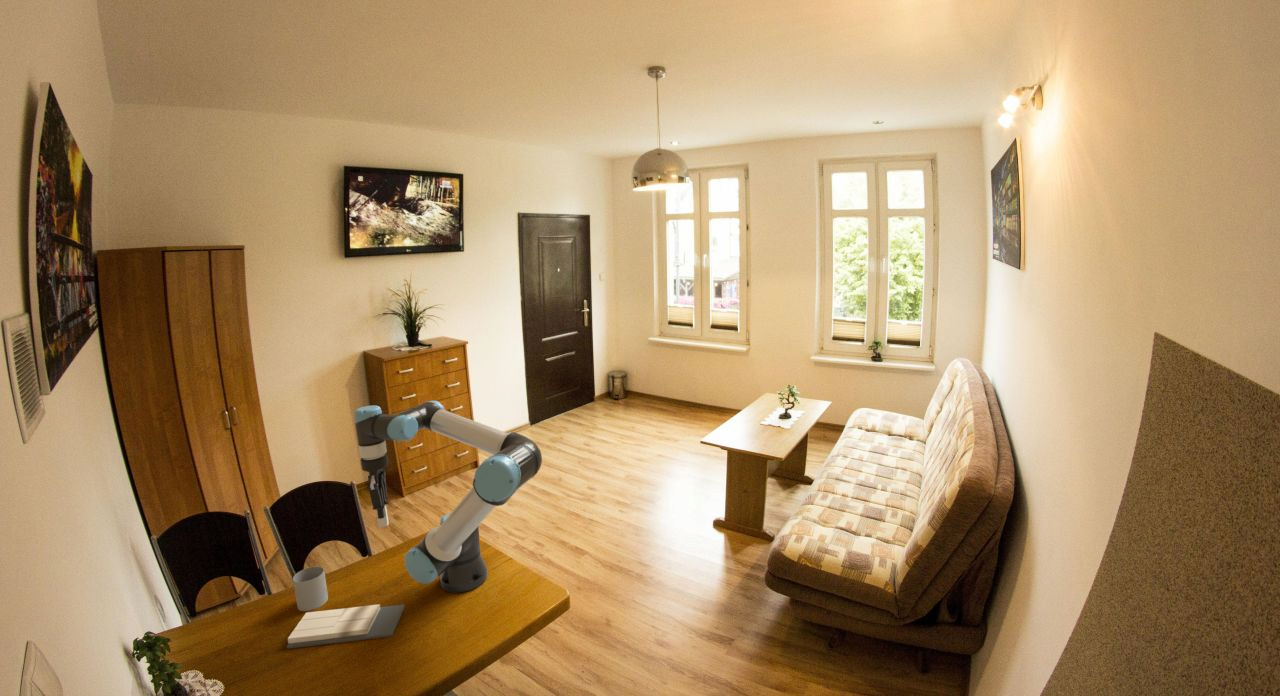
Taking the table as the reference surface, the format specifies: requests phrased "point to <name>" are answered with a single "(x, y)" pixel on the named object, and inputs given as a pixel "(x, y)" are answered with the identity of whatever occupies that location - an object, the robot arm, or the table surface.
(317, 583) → the cup
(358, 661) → the table surface
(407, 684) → the table surface
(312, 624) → the floor section
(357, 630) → the loose plank
